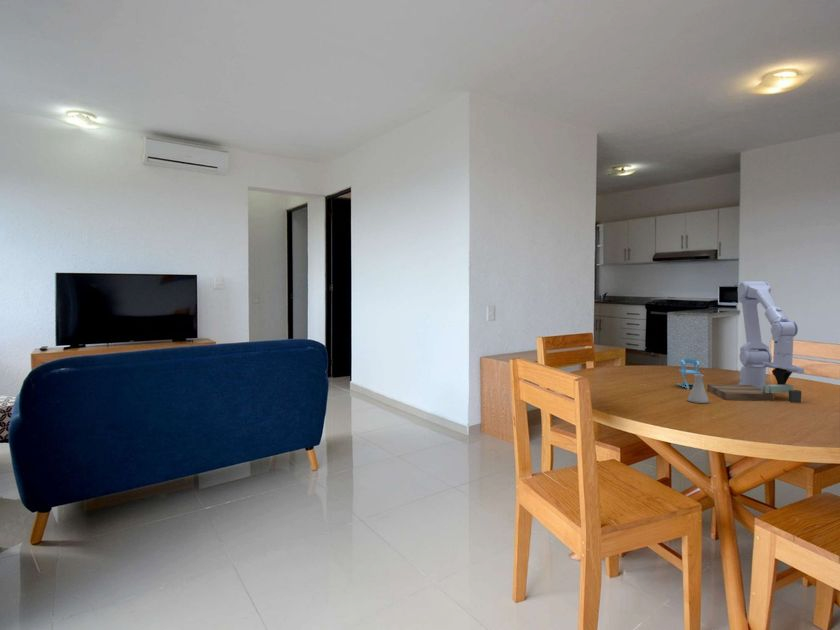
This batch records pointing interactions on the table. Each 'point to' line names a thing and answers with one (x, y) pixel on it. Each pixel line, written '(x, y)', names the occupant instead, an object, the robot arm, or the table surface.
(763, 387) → the folding leg
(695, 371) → the chair
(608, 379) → the table surface
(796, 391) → the block
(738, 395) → the stool seat
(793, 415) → the table surface
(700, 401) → the flask
